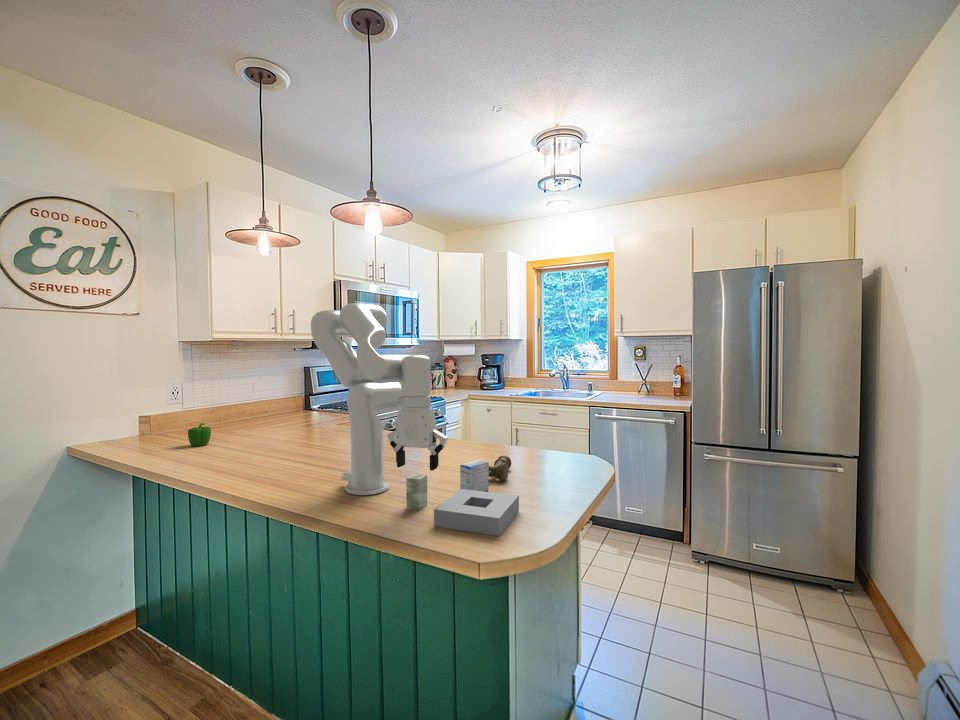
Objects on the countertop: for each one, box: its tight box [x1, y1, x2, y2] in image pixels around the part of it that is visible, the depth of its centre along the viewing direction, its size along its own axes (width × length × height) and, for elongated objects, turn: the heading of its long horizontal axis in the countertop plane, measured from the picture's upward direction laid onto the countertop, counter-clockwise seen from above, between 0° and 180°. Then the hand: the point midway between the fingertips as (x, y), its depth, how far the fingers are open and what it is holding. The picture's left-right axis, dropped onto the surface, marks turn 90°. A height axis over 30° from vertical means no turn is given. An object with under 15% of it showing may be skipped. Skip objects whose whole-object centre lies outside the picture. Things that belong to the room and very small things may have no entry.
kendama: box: [489, 455, 512, 483], centre depth 141 cm, size 6×10×20 cm
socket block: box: [433, 488, 520, 537], centre depth 106 cm, size 16×16×4 cm
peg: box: [405, 473, 428, 511], centre depth 114 cm, size 4×4×8 cm
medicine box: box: [459, 459, 490, 492], centre depth 126 cm, size 8×4×9 cm, turn 141°
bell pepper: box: [187, 422, 212, 447], centre depth 191 cm, size 8×8×10 cm
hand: (417, 467), depth 114 cm, fingers open, 9 cm apart
